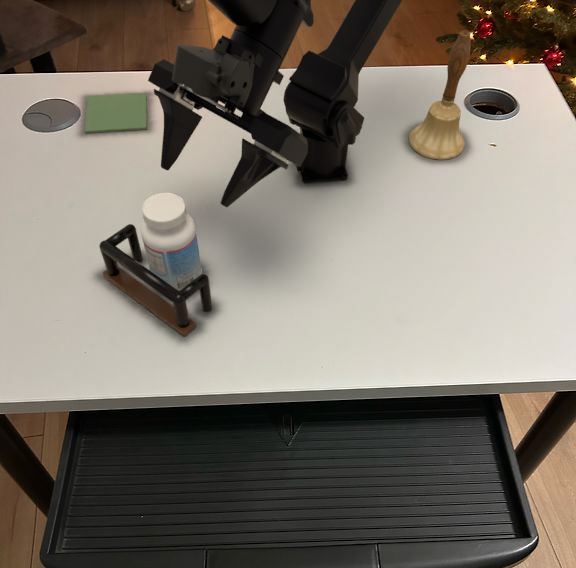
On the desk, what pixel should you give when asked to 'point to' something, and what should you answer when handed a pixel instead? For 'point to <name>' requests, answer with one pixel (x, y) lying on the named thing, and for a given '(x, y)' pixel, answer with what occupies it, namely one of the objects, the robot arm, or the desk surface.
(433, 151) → the hand bell
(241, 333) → the desk surface
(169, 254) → the pill bottle
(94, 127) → the felt mat
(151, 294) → the rail rack
